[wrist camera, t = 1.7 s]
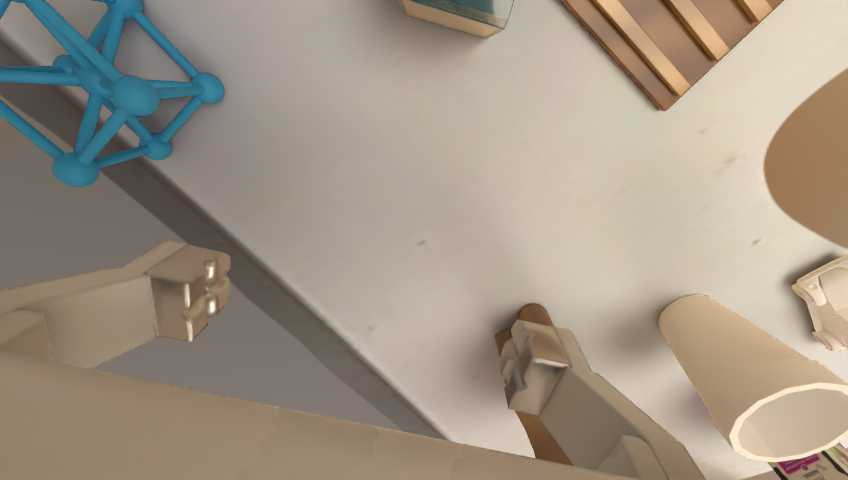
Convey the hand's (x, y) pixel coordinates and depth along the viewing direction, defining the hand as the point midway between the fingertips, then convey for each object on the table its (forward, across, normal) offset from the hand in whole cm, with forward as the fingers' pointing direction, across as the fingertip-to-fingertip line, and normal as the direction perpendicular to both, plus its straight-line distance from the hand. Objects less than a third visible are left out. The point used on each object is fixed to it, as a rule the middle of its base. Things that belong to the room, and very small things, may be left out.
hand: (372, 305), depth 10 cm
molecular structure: (+24, +23, 0) cm, 33 cm away
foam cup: (+25, -33, +11) cm, 43 cm away
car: (+25, -46, +5) cm, 53 cm away
